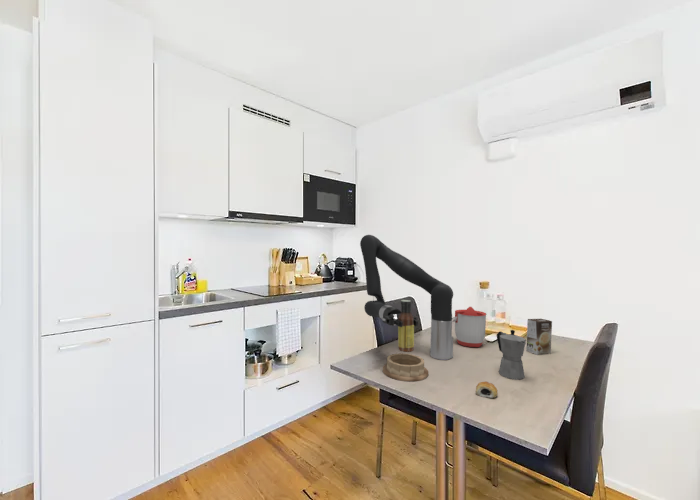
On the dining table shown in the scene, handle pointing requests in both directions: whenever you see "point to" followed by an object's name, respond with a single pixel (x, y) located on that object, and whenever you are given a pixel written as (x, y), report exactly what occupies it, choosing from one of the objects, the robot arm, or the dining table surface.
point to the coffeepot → (511, 355)
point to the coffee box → (539, 336)
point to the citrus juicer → (470, 327)
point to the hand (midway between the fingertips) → (409, 324)
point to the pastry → (486, 390)
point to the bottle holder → (405, 367)
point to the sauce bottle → (406, 328)
